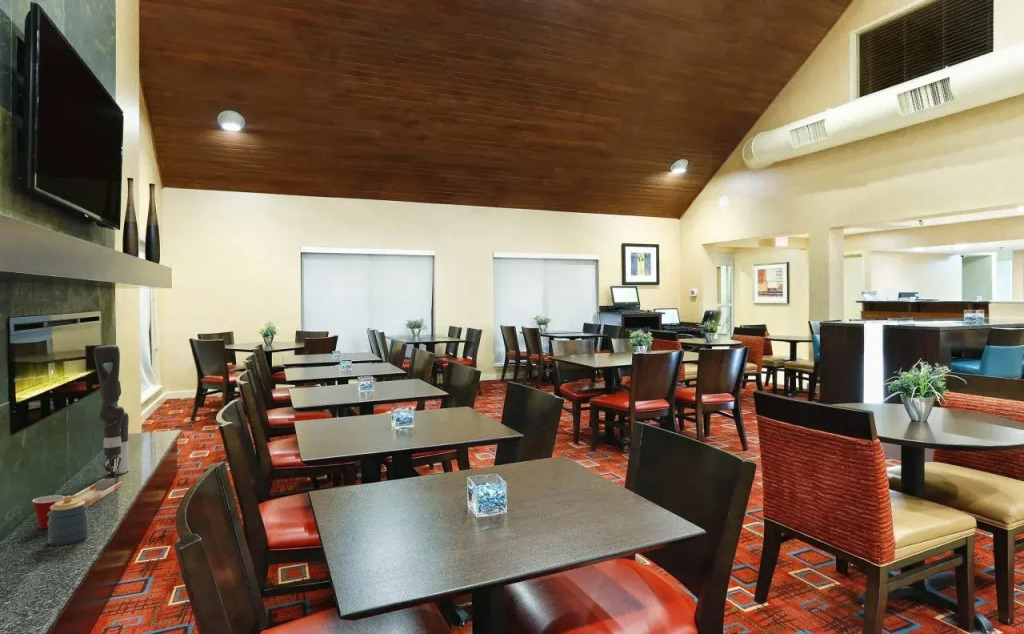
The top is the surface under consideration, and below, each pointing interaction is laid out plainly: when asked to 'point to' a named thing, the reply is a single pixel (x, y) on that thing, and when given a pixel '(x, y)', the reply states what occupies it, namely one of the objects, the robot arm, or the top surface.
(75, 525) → the canister
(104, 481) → the slate block
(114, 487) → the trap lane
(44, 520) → the plastic cup
